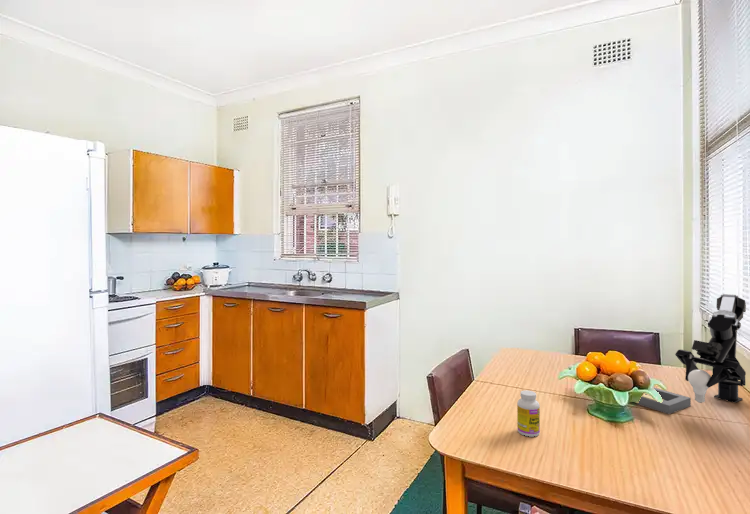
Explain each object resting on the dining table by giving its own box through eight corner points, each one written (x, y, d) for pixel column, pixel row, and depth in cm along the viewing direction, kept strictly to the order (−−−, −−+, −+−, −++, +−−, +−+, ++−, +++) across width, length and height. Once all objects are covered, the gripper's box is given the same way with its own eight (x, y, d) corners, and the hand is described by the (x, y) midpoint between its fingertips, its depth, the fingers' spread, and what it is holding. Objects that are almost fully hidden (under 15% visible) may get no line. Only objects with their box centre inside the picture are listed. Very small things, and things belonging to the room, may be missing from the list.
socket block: (652, 394, 160) (652, 386, 160) (690, 406, 149) (690, 396, 148) (630, 401, 154) (630, 393, 153) (669, 414, 142) (669, 404, 142)
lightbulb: (716, 406, 134) (716, 373, 133) (694, 405, 135) (694, 372, 135) (705, 399, 140) (704, 367, 140) (683, 398, 141) (683, 366, 141)
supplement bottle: (529, 439, 126) (528, 398, 126) (512, 431, 132) (512, 391, 132) (544, 434, 129) (544, 394, 129) (527, 426, 135) (527, 387, 135)
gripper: (678, 326, 147) (656, 361, 144) (740, 337, 129) (717, 377, 126) (693, 346, 150) (672, 380, 146) (755, 359, 132) (733, 398, 129)
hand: (696, 383), depth 137 cm, fingers closed on lightbulb, 6 cm apart
